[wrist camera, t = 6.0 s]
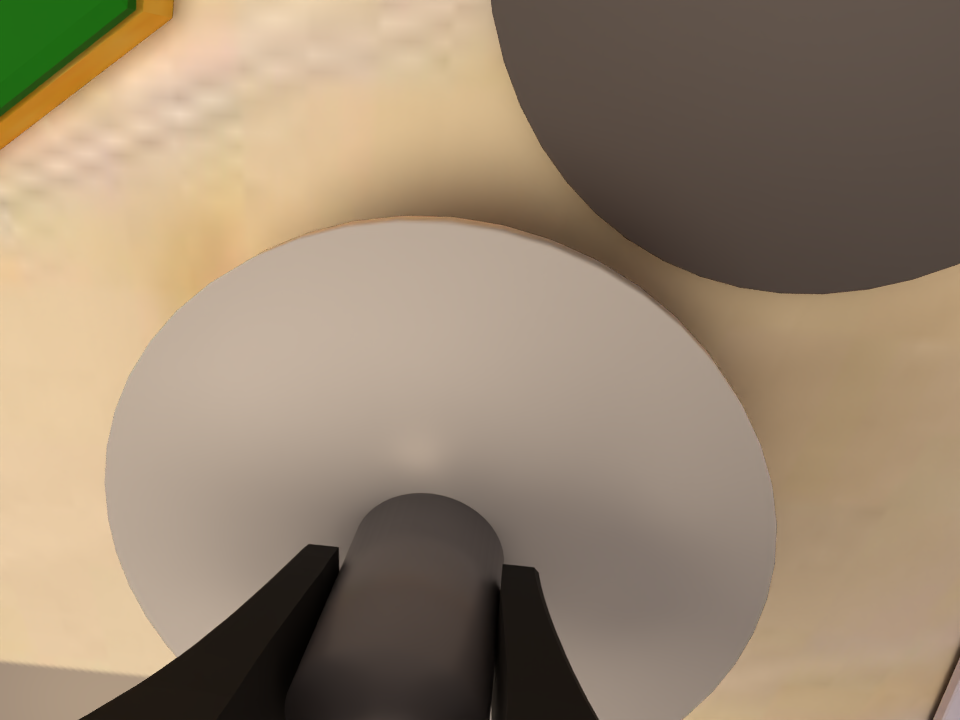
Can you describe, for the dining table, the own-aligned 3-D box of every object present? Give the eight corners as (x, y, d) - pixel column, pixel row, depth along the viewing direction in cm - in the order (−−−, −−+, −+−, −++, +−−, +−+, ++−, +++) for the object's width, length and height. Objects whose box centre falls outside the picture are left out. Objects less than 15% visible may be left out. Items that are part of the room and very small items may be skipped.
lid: (848, 254, 12) (1034, 356, 7) (691, 791, 17) (742, 1038, 13) (81, 182, 12) (-176, 234, 8) (162, 717, 18) (36, 925, 13)
